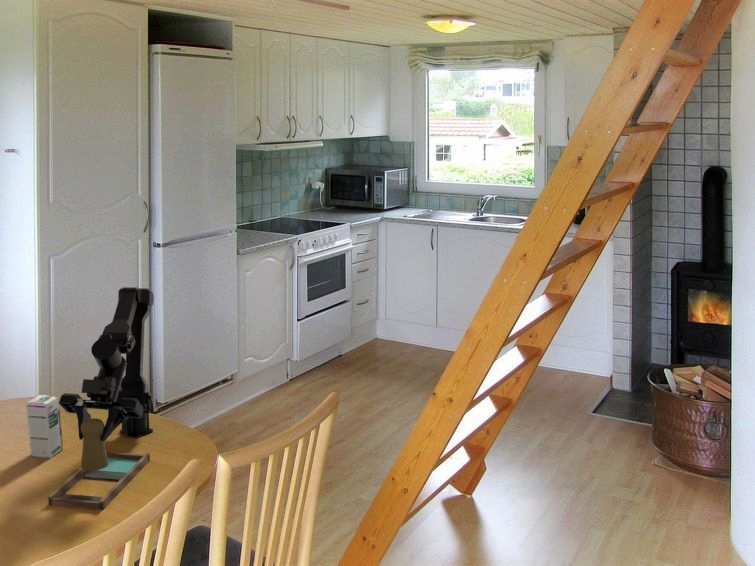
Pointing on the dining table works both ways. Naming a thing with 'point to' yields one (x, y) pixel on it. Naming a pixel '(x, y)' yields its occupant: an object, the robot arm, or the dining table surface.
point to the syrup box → (44, 426)
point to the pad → (119, 465)
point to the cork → (93, 445)
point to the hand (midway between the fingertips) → (91, 439)
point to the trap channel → (100, 502)
